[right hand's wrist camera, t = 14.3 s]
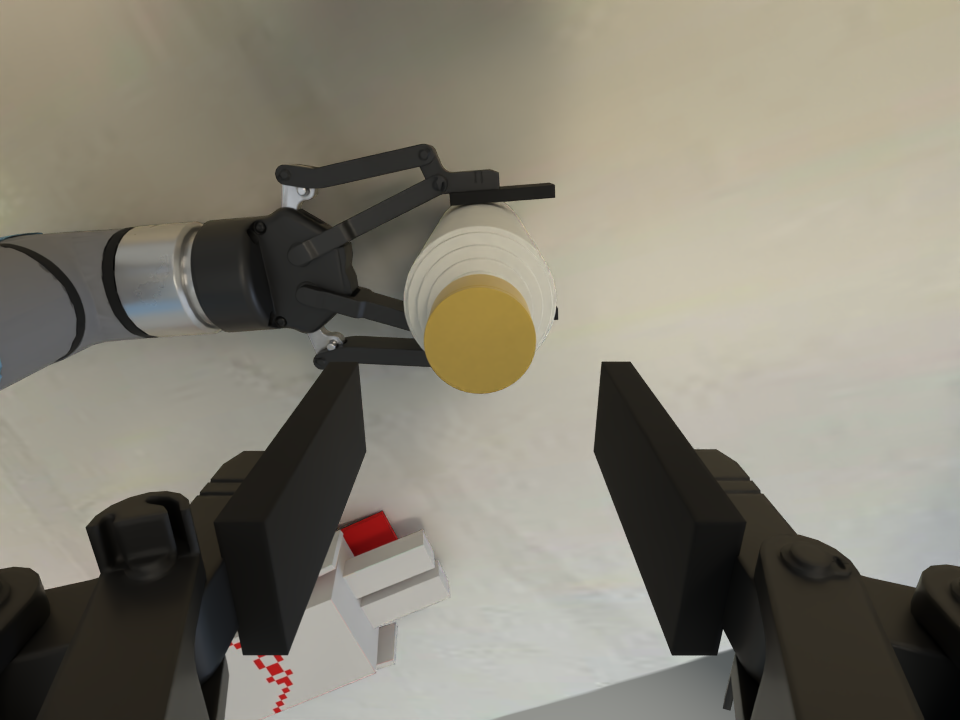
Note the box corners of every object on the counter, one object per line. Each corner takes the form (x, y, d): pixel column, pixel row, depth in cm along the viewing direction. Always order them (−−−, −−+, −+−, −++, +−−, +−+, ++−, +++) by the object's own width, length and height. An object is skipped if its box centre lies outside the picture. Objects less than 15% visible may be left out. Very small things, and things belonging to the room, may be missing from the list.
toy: (466, 660, 44) (133, 795, 44) (453, 556, 57) (194, 660, 57) (409, 552, 40) (43, 699, 40) (409, 465, 53) (130, 577, 53)
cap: (547, 296, 21) (554, 311, 19) (507, 384, 22) (510, 408, 20) (449, 257, 21) (446, 269, 18) (415, 350, 22) (408, 372, 20)
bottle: (539, 216, 41) (607, 286, 19) (504, 299, 43) (529, 446, 21) (453, 180, 40) (421, 212, 18) (422, 267, 42) (361, 387, 20)
